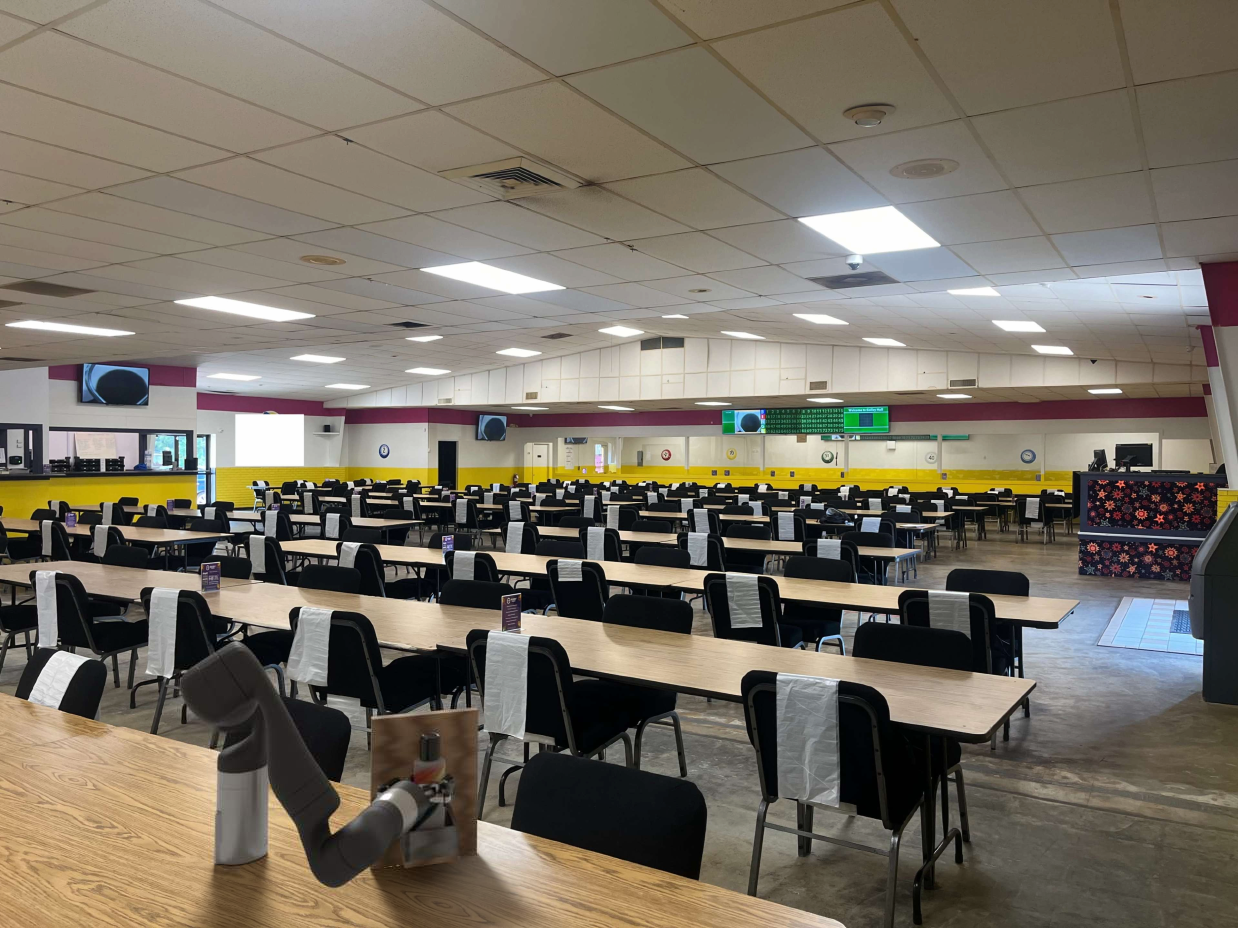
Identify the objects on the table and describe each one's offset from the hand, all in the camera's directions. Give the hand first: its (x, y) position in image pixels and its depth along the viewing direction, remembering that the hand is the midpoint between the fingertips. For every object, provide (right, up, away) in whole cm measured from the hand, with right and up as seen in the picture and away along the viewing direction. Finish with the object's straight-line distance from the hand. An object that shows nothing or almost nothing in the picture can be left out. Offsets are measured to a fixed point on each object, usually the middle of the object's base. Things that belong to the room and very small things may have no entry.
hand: (434, 777), depth 158 cm
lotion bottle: (0, -11, -3) cm, 11 cm away
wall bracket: (-1, -17, -2) cm, 17 cm away
